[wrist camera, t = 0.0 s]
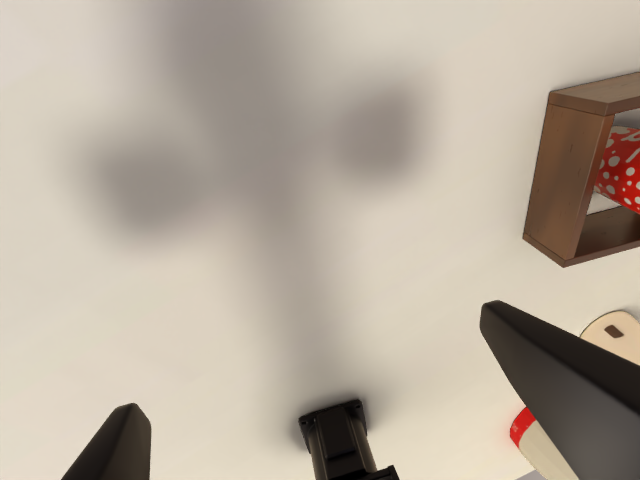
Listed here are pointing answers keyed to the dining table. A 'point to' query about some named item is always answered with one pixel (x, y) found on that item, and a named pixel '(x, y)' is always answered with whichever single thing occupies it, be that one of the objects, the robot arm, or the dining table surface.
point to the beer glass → (616, 335)
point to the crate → (579, 175)
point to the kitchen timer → (539, 448)
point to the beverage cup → (621, 168)
